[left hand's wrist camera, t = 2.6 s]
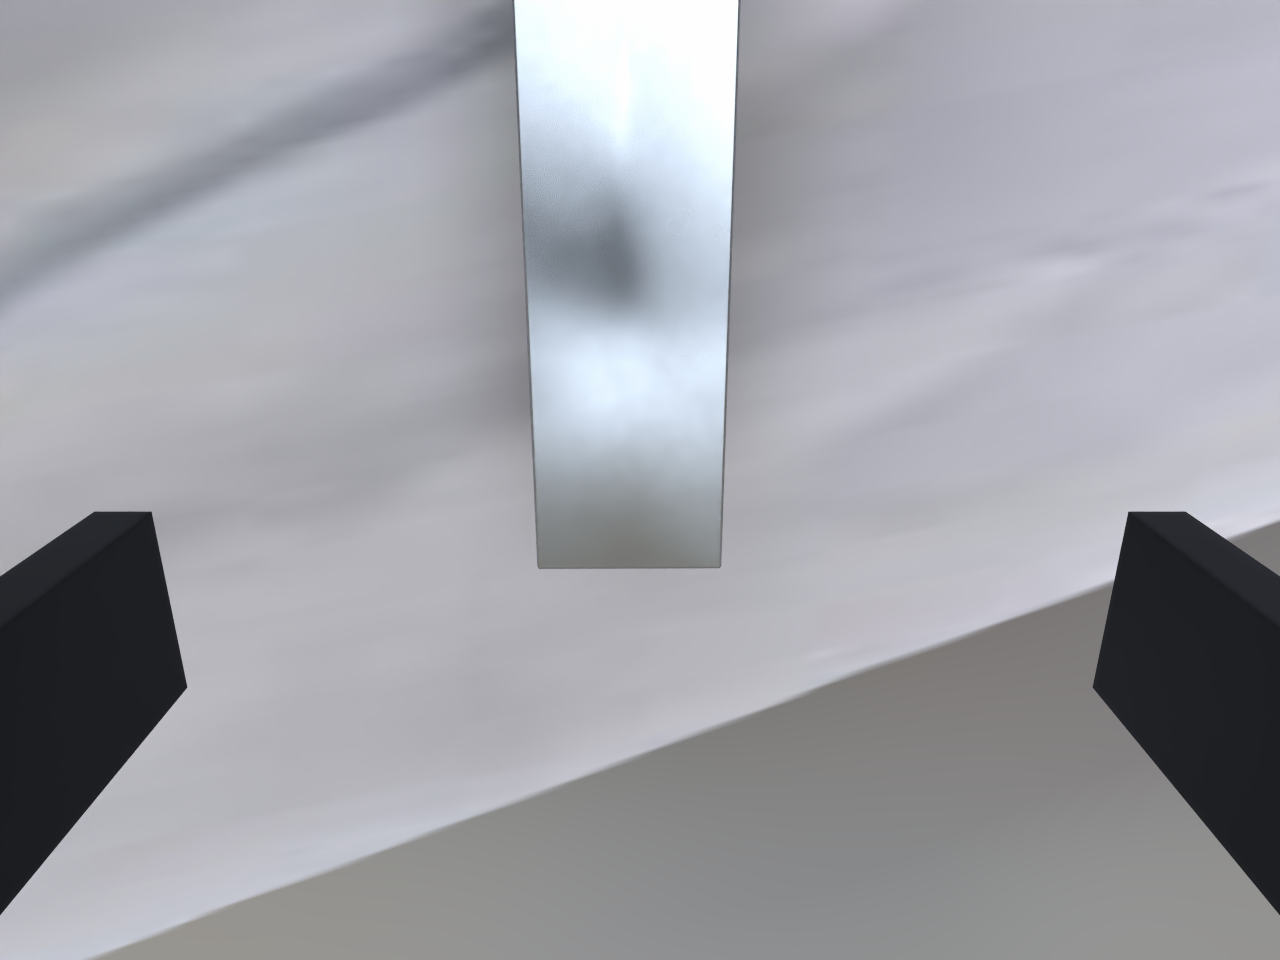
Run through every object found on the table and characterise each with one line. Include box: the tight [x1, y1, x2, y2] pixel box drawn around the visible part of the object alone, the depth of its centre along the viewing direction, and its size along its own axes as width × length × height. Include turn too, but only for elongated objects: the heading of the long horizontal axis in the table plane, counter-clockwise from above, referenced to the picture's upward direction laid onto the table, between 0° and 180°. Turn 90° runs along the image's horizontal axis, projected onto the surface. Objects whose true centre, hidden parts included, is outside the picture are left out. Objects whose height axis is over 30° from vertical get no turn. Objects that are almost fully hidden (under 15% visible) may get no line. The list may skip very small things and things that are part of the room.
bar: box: [512, 0, 741, 569], centre depth 22 cm, size 23×4×9 cm, turn 0°
